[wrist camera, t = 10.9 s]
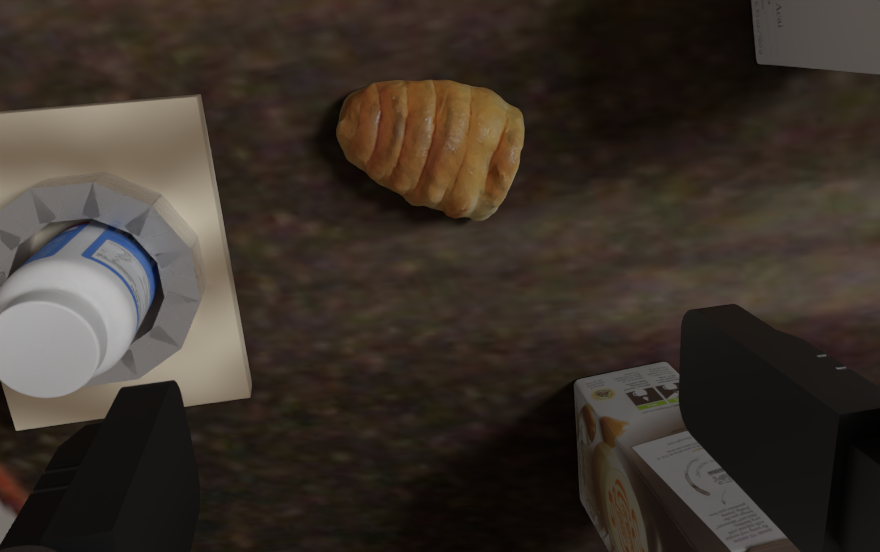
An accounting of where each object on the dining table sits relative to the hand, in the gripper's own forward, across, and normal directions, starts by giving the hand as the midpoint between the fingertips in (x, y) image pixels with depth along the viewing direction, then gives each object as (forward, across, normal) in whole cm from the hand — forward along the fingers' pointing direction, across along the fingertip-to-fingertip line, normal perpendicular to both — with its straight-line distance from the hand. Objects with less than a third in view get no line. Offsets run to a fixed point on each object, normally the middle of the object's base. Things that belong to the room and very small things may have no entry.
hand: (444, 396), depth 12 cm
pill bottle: (+27, +13, +5) cm, 30 cm away
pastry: (+29, -4, +1) cm, 29 cm away
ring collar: (+27, +13, +5) cm, 30 cm away
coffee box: (+28, -15, +20) cm, 38 cm away
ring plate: (+28, +13, +5) cm, 31 cm away
